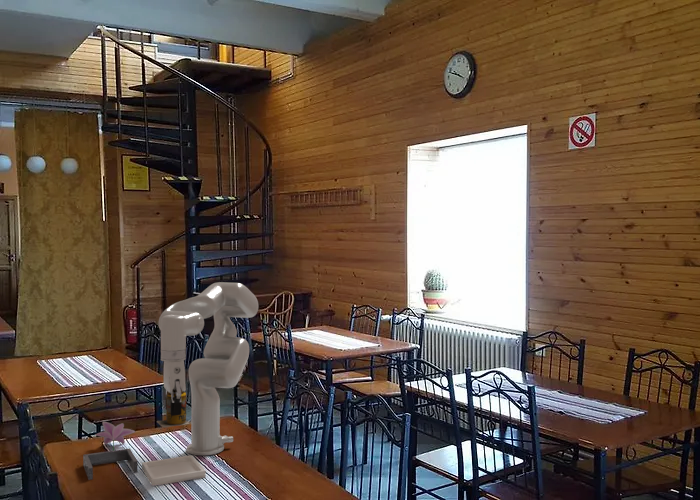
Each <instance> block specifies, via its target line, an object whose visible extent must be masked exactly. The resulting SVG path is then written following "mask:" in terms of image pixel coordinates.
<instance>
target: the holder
mask: <svg viewBox="0 0 700 500" xmlns="http://www.w3.org/2000/svg"><path fill="white" fill-rule="evenodd" d="M82 456H83V457H82V458H83V459H82V460H83V462H82V463H83V464H82V465H83V468H84V471H85V474H86V477H87V479H88V481H91V480H94V478H93V477H94V475H93V474H94V473H93V472H94V470H93V469H94V468H93V466H99V465H104V464H112V463H119V462H120V463H121V462H127V463H128V466H129V467H130V469H131V471H132V472H133V473H134V474H136V473H138V471H139V470H138V469H139V468H138V467H139V466H138V465H139V464H138V463H139V462H138V459H137V458H136V456H135V454H134V453H133V450H131V448H130V447H129V448H122V449H116V450H115V449H114V451H113V450H110V451H107V450H106V451H100V452H94V453H87V454H83V455H82Z"/></svg>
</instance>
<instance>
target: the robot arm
mask: <svg viewBox="0 0 700 500" xmlns="http://www.w3.org/2000/svg"><path fill="white" fill-rule="evenodd" d="M258 312H259V301H258V299H257V296H256V295H255V294H254V293H253V292H252V291H251V290H250V289H249V288H248V287H247V286H246V285H244V284H243V283H240V282H226V281H225V282H223V281H221V282H220V281H219V282H214V283H212V284H210V285H209V286H207V288H205V289H204V290H203V291H202V292H200V293H199V294H198V295H196V296H193V297H189V298H187V299H184V300H180V301H177V302H175V303H172V304H171V305H169V306H168V307H167V308H166V309H164V310H163V311H162V313H160V316H159V318H158V328H159V331H160V361H162V362H163V387H164V389H165V396H166V395H167V393H168V392H169V393H171V399H172V402H171V416H174V415H181V391H182V392H185V393H186V388H187V387H186V369H185V368H186V367H185V361H186V359H187V351H186V350H187V343H186V342H187V336H190V337H191V336H196V335H199V334H201V332H202V331H203V329H204V328H205V327H204V326H205V320H206V319H209V318H210V317H213V321H214V327H213V331H212V332H211V334H210V336H209V338H208V340H207V342H206V344H205V347H204V349H203V357H204V358H197V359H195V360H193V361H192V362H191V363H190V364H189V368H188V379H189V383H190V385H189V386H190V393H191V394H190V395H191V412H190V413H191V418H190V419H191V420H190V421H191V423H190V424H191V430H190V431H191V435H190V438H191V439H190V440H191V443H189V444H188V445H187V446H186V452H187V454H188V453H189V455H192V456H210V455H211V456H213V455H216V454H219V453H221V452H223V451H224V449H225V445H224V444H225V443H233V442H234V436H228V435H223V436H222V435H221V434H220V430H221V429H220V425H221V424H220V423H221V419H220V418H221V417H220V412H221V411H220V409H221V408H220V407H221V406H220V405H221V404H220V403H221V401H220V400H221V399H220V396H219V393H218V391H217V389H216V388H219V389H221V388H222V389H231V388H234V387H236V386H237V384H238V382H239V381H240V379H241V376H242V374H243V372H244V369H245V367H246V364H247V362H248V359H249V355H250V344H249V342H248V341H247V340H246V339H245V338H243V337H237V335H238V330H237V327H236V325H235V324H234V322H233V321H232V320H231V318H243V319H246V318H247V319H249V318H253V317H255V316H256V315H257V313H258ZM180 387H181V388H180ZM174 390H176V392H173V391H174ZM175 394H176V395H175ZM174 395H175V396H174Z"/></svg>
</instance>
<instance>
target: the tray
mask: <svg viewBox="0 0 700 500" xmlns="http://www.w3.org/2000/svg"><path fill="white" fill-rule="evenodd" d="M141 470H142V471H143V473H144V475H145V476H146V477H147V479H148V481H149V483H150V485H151V487H154V486H160V485H161V486H162V485H167V484H168V485H169V484H173V483H178V482H183V481H190V480H196V479H197V480H198V479H203V478H206V476H207V475H206V472H207V471H206V469H205V468H204V467H203V466H202V465H201V464H200V463H199V461H198V460H197V459H196V458H195V456H194V455H193V454H189V455H184V456H176V457H169V458H162V459H156V460H150V461H144V462H141Z"/></svg>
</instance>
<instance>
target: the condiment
mask: <svg viewBox="0 0 700 500" xmlns="http://www.w3.org/2000/svg"><path fill="white" fill-rule="evenodd" d="M180 388H181V387H180ZM173 392H176V390H174V391H173ZM175 395H176V394H175ZM175 395H174V396H175ZM171 402H172V399H171V393H169V392H168V393H167V395H166V394H165V411H166V412H165V413H166V419H165V420H157V421H156V423H157V424H158V425H159V426H160V427H162V428H163V429H165V428H170V427H171V428H172V427H178V426H179V427H180V426H185V425H190V424H191V423H190V422H189V421H187V392H186V391H185V392H182V391H181V415H174V416H171Z"/></svg>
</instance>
